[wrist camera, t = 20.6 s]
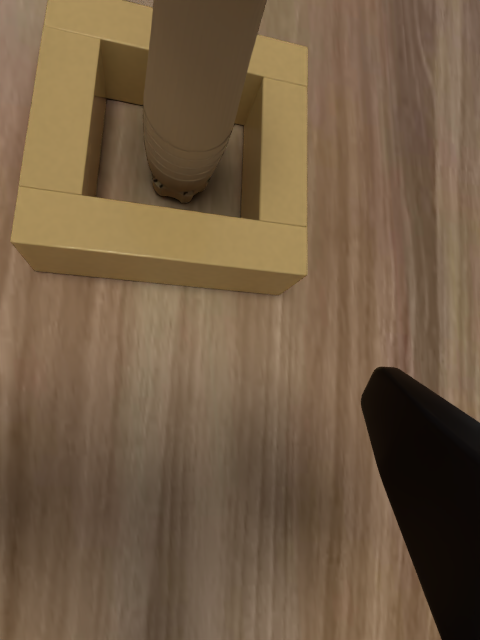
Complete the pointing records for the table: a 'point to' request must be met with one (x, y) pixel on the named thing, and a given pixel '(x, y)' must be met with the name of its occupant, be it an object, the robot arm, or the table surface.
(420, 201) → the table surface
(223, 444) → the table surface
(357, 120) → the table surface
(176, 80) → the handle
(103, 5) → the stand
